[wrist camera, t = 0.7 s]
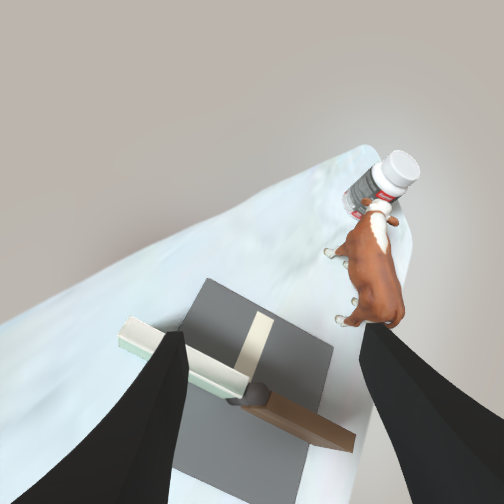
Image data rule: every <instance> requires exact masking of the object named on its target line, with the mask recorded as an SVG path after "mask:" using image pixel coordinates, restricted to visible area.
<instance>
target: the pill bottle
mask: <svg viewBox="0 0 504 504" xmlns="http://www.w3.org/2000/svg"><path fill="white" fill-rule="evenodd" d="M419 177H420V168H419V166H418V164H417V162H416V161H415V160H414V158H412V157H411V156H410V155H409V154H407V153H406V152H404V151H401V150H395V151H393V152H392V153H390V154H389V155H388V156H387V157H386V158H385V159H384V160H383V161H379V162H377V163H376V164H374V165H373V166H372V167H371V168H370V169H369V170H368V171H367V172H366V173H365V174H364V175H363V176H362V177H361V178H360V179H359V180H357V181H356V182H355V183H354V184H353V185H352V186H351V187H350V188H349V189H348V190H347V191H346V192H345V193H344V195H343V198H342V201H343V206H344V208H345V210H346V212H347V213H348V214H349V215H350V216H351V217H352V218H354V219H356V220H358V221H359V220H360V219H361V217H362V216H363V215H364V214H365V212H366V210H367V208H368V207H366V206H364V205H362V203H361V199H363V198H369V199H371V200H372V201H374V200H375V199H381V200H384V201H387V202H388V203H390V204H391V203H393V202H394V201H395V200H397V199H398V198H399V197H401V196H402V195H403V194H404V193H405V192H406V191H407V188H408V186H410V185H411V184H412V183H414V182H415V181H416V180H417V179H418V178H419Z"/></svg>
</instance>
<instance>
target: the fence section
mask: <svg viewBox="0 0 504 504" xmlns="http://www.w3.org/2000/svg"><path fill="white" fill-rule="evenodd" d="M226 401H227V402H228V404H230V405H232V406H241V409H243V410H245V411H247V412H249V413H251V414H253V415H255V416H256V417H258V418H260V419H262V420H264V421H266V422H268V423H270V424H272V425H274V426H276V427H278V428H280V429H282V430H284V431H286V432H288V433H290V434H292V435H294V436H296V437H298V438H300V439H302V440H304V441H306V442H308V443H310V444H312V445H315V446H320V447H325V448H330V449H335V450H340V451H345V452H350V453H353V448H354V442H355V437H356V434H354V433H352V432H350V431H348V430H346V429H344V428H343V427H341V426H339V425H337V424H335V423H333V422H331V421H329V420H327V419H325V418H323V417H321V416H319V415H317V414H316V413H314V412H312V411H310V410H308V409H306V408H304V407H302V406H300V405H298V404H296V403H294V402H292V401H290V400H289V399H287V398H285V397H283V396H281V395H279V394H277V393H275V392H273V391H269V389H268V387H267V386H266V385H265V384H264V383H261V382H257V383H251V384H247V386H246V389H245V391H244V394H243V397H242V398H240V399H239V398H237V397H235V398H226Z"/></svg>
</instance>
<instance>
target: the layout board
mask: <svg viewBox="0 0 504 504" xmlns="http://www.w3.org/2000/svg"><path fill="white" fill-rule="evenodd" d="M178 331H183V333H184V339H185V344H186V345H188V346H190V347H192V348H194V349H196V350H197V351H199V352H201V353H203V354H205V355H207V356H209V357H211V358H213V359H215V360H217V361H219V362H221V363H222V364H224V365H226V366H228V367H230V368H232V369H234V370H236V371H238V372H240V373H242V374H244V375H246V376H248V377H249V381H248V384H251V383H257V382H261V383H264V384H265V385H266V386H267V387H268V389H269V391H273V392H275V393H277V394H279V395H281V396H283V397H285V398H287V399H289V400H290V401H292V402H294V403H296V404H298V405H300V406H302V407H304V408H306V409H308V410H310V411H312V412H314V413H316V414H317V411H318V407H319V403H320V399H321V395H322V391H323V387H324V383H325V379H326V375H327V371H328V367H329V364H330V360H331V356H332V352H333V348H334V347H332V346H330V345H328V344H326V343H325V342H323V341H321V340H319V339H317V338H315V337H314V336H312V335H310V334H308V333H306V332H305V331H303V330H301V329H299V328H297V327H296V326H294V325H292V324H290V323H288V322H286V321H285V320H283V319H281V318H279V317H277V316H276V315H274V314H272V313H270V312H268V311H267V310H265V309H263V308H261V307H259V306H257V305H256V304H254V303H252V302H250V301H248V300H247V299H245V298H243V297H241V296H239V295H238V294H236V293H234V292H232V291H230V290H228V289H227V288H225V287H223V286H221V285H219V284H218V283H216V282H214V281H212V280H210V279H209V278H207V279H206V281H205V282H204V284H203V286H202V288H201V290H200V292H199V293H198V295H197V297H196V299H195V301H194V303H193V304H192V306H191V308H190V310H189V312H188V314H187V315H186V317H185V319H184V321H183V323H182V324H181V326H180V328H179V330H178ZM308 447H309V443H308V442H306V441H304V440H302V439H300V438H298V437H296V436H294V435H292V434H290V433H288V432H286V431H284V430H282V429H280V428H278V427H276V426H274V425H272V424H270V423H268V422H266V421H264V420H262V419H260V418H258V417H256V416H255V415H253V414H251V413H249V412H247V411H245V410H243V409H241V406H232V405H230V404H228V402H227V401H226V398H223V399H222V398H220V397H218V396H216V395H214V394H212V393H210V392H208V391H206V390H204V389H202V388H200V387H198V386H196V385H194V384H192V383H190V382H188V387H187V395H186V400H185V405H184V410H183V415H182V419H181V424H180V429H179V433H178V438H177V443H176V448H175V452H174V458H173V464H172V468H175V469H177V470H179V471H181V472H183V473H185V474H187V475H190V476H192V477H194V478H196V479H198V480H200V481H202V482H205V483H207V484H209V485H211V486H213V487H215V488H217V489H220V490H222V491H224V492H226V493H228V494H230V495H232V496H235V497H237V498H239V499H241V500H243V501H245V502H247V503H250V504H294V502H295V498H296V494H297V490H298V486H299V482H300V478H301V474H302V470H303V466H304V462H305V458H306V454H307V450H308Z"/></svg>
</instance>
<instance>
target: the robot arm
mask: <svg viewBox="0 0 504 504" xmlns="http://www.w3.org/2000/svg"><path fill="white" fill-rule="evenodd" d="M359 362H360V366H361V369H362V373H363V376H364V379H365V382H366V385H367V388H368V390H369V392H370V395H371V397H372V399H373V401H374V404H375V406H376V408H377V410H378V413H379V415H380V417H381V419H382V422H383V424H384V426H385V429H386V431H387V433H388V435H389V437H390V440H391V442H392V445H393V447H394V450H395V452H396V455H397V458H398V461H399V463H400V467H401V470H402V472H403V475H404V478H405V481H406V484H407V488H408V491H409V494H410V497H411V500H412V503H413V504H504V419H502V418H500V417H499V416H497V415H496V414H494V413H493V412H491V411H490V410H488V409H486V408H485V407H484V406H482V405H480V404H479V403H478V402H477V401H475V400H474V399H472V398H471V397H469V396H468V395H467V394H465V393H464V392H462V391H461V390H460V389H458V388H456V386H454V385H453V384H452V383H451V382H449V381H448V380H447V379H445V378H444V377H443V376H442V375H440V374H439V373H438V372H437V371H436V370H434V369H433V368H432V367H431V366H430V365H428V364H427V363H426V362H425V361H424V360H423V359H421V358H420V357H419V356H418V355H417V354H416V353H415V352H413V351H412V350H411V349H410V348H409V347H408V346H407V345H406V344H405V343H404V342H402V341H401V340H400V339H399V338H398V337H397V336H396V335H395V334H394V333H393V332H392V331H391V330H389V329H388V328H387V327H386V326H385V325H384V324H383V323H382V322H378V323H366V327H365V332H364V336H363V341H362V346H361V351H360V356H359ZM188 377H189V363H188V357H187V351H186V345H185V339H184V333H183V331H178V332H167V333H166V334H165V335H164V337H163V338H162V340H161V342H160V343H159V345H158V347H157V348H156V350H155V351H154V353H153V354H152V356H151V358H150V359H149V361H148V362H147V363H146V365H145V366H144V368H143V369H142V371H141V372H140V373H139V375H138V376H137V378H136V379H135V380H134V382H133V383H132V384H131V386H130V387H129V388H128V389H127V391H126V392H125V393H124V395H123V396H122V397H121V398H120V400H119V401H118V402H117V403H116V404H115V406H114V407H113V408H112V409H111V410H110V412H109V413H108V414H107V415H106V416H105V417H104V418H103V419H102V420H101V422H100V423H99V424H98V425H97V426H96V427H95V428H94V429H93V430H92V431H91V432H90V433H89V434H88V435H87V436H86V437H85V438H84V439H83V440H82V441H81V442H80V443H79V444H78V445H77V446H76V447H75V448H74V449H73V450H72V451H71V452H70V453H69V454H68V455H67V456H66V457H65V458H63V459H62V460H61V461H60V462H59V463H58V464H57V465H56V466H55V467H54V468H52V469H51V470H50V471H49V472H48V473H47V474H46V475H45V476H44V477H42V478H41V479H40V480H39V481H38V482H37V483H35V484H34V485H33V486H32V487H31V488H29V489H28V490H27V491H26V492H24V493H23V494H22V495H21V496H19V497H18V498H17V499H16V500H15V501H13V502H12V503H11V504H168V495H169V487H170V479H171V471H172V464H173V458H174V452H175V448H176V443H177V438H178V433H179V429H180V424H181V419H182V415H183V410H184V405H185V400H186V395H187V387H188Z"/></svg>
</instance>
